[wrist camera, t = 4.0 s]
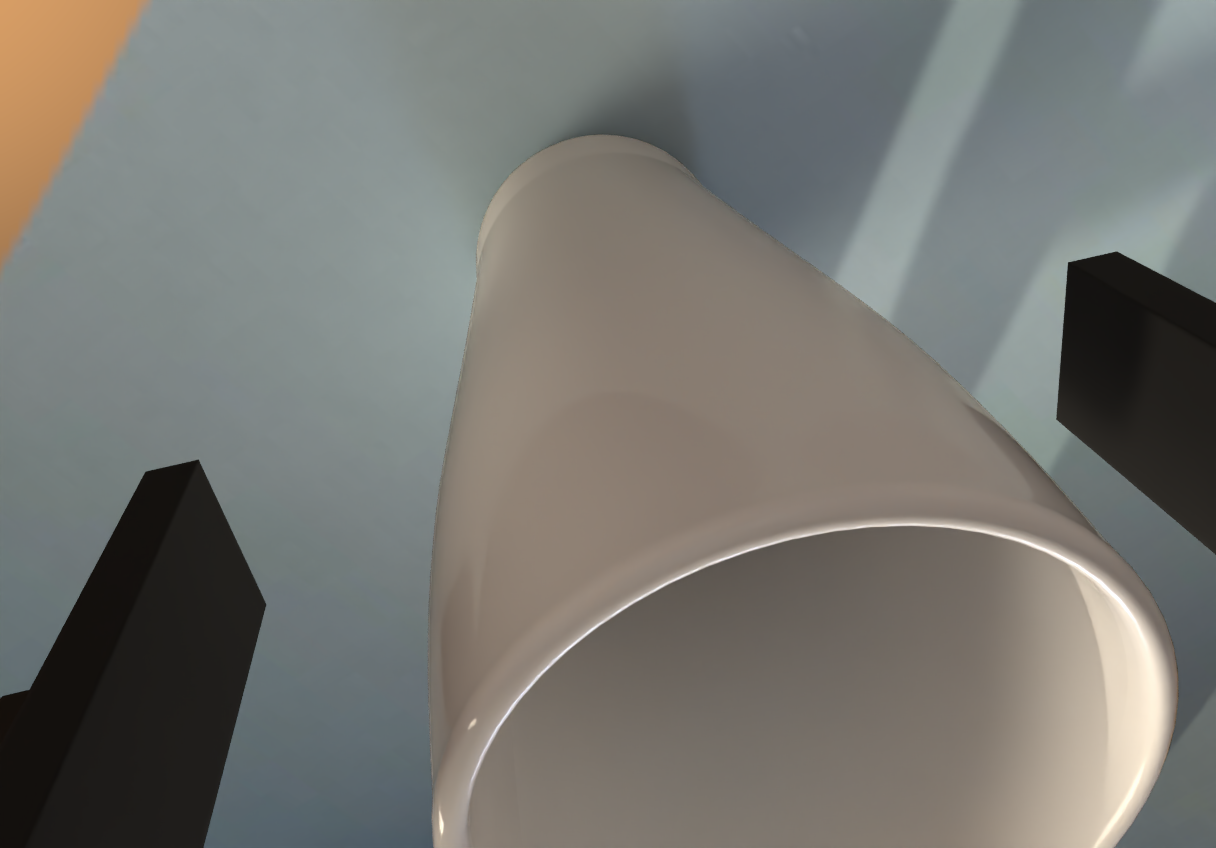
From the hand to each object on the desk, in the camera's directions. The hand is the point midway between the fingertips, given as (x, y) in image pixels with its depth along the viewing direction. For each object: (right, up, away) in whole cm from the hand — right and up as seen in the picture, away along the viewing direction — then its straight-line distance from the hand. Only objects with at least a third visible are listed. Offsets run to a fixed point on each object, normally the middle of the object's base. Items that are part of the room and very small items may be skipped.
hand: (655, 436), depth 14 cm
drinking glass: (-1, +4, +7) cm, 8 cm away
